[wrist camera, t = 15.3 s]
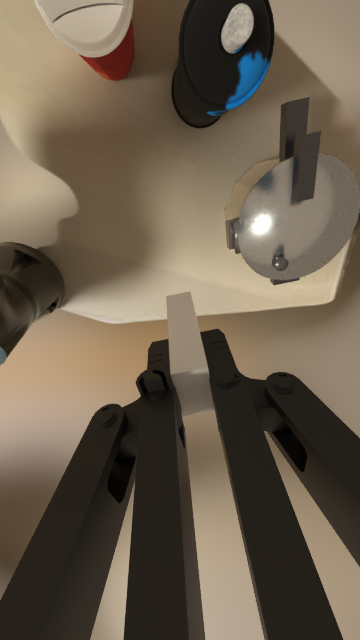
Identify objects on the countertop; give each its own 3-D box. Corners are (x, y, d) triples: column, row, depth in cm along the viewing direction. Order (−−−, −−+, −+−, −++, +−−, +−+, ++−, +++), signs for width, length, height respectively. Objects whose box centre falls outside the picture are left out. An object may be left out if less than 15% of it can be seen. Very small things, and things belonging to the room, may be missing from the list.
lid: (236, 286, 41) (240, 293, 39) (227, 151, 30) (232, 151, 28) (343, 267, 39) (353, 273, 37) (373, 118, 29) (389, 115, 27)
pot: (221, 275, 49) (233, 295, 42) (207, 126, 36) (219, 117, 29) (308, 257, 49) (335, 275, 41) (326, 98, 35) (371, 81, 28)
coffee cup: (143, 5, 29) (130, -111, 17) (142, 96, 34) (132, 58, 21) (70, -8, 28) (1, -140, 16) (80, 87, 33) (31, 43, 20)
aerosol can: (159, 96, 34) (159, 33, 17) (198, 29, 31) (244, -128, 14) (202, 142, 37) (238, 127, 20) (242, 86, 34) (321, 14, 17)
